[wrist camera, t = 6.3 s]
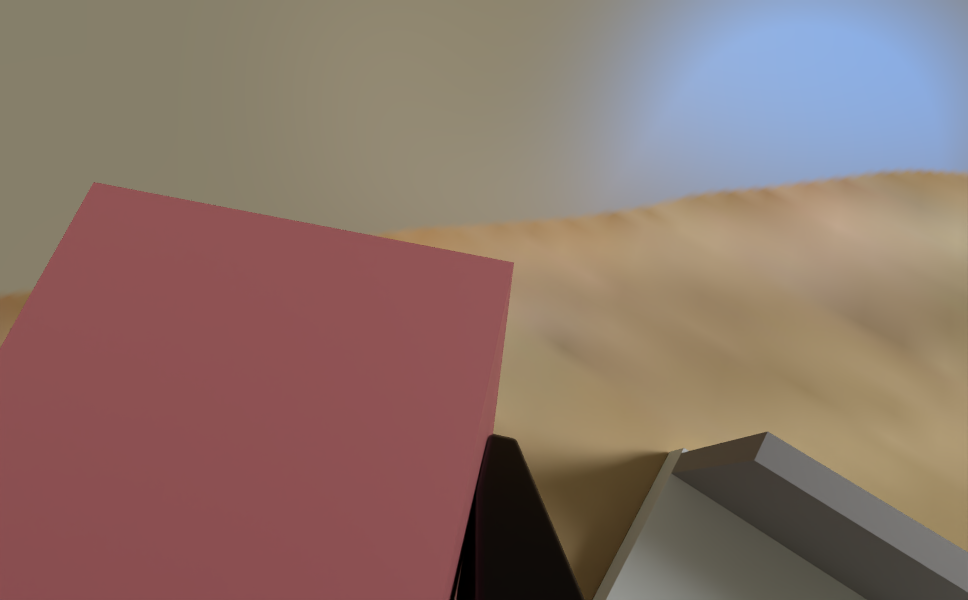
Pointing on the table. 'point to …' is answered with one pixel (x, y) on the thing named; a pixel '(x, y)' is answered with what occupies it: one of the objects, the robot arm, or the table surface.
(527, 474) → the robot arm
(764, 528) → the shelf
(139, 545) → the tall pink rectangular prism
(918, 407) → the table surface
